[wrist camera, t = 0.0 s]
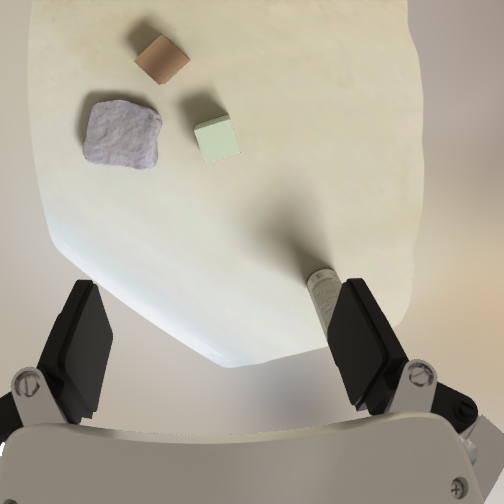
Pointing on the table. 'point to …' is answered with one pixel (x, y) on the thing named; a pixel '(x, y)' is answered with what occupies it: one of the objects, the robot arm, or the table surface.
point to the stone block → (122, 135)
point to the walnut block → (161, 60)
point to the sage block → (217, 139)
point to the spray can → (324, 296)
